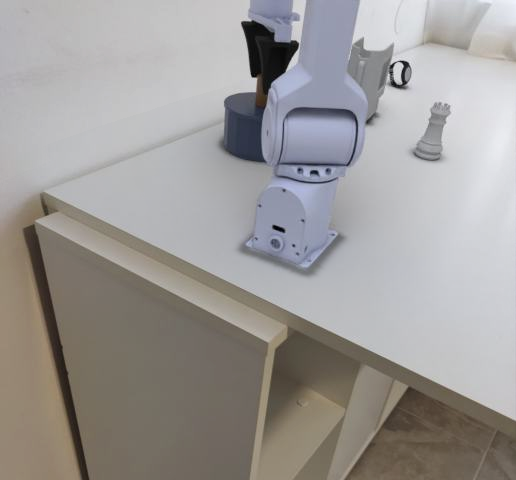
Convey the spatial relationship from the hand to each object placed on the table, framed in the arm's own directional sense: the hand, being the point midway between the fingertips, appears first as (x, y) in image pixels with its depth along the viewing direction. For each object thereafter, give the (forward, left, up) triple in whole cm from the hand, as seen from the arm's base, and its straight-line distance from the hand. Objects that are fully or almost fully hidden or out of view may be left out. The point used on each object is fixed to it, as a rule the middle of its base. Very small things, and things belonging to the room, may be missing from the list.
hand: (264, 85), depth 78 cm
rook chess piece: (+16, -23, -9) cm, 30 cm away
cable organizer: (+27, -7, -9) cm, 29 cm away
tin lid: (0, 0, -3) cm, 3 cm away
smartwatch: (+51, -7, -9) cm, 52 cm away
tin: (0, 0, -9) cm, 9 cm away
